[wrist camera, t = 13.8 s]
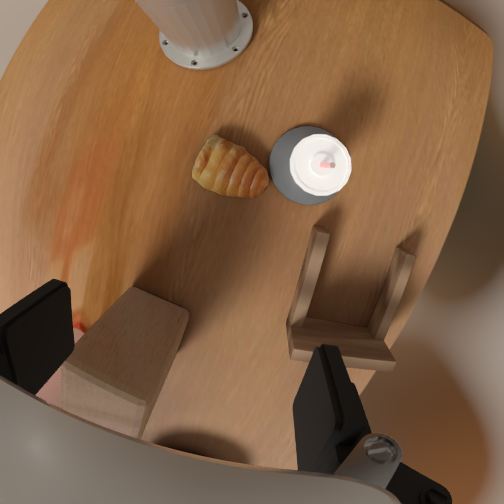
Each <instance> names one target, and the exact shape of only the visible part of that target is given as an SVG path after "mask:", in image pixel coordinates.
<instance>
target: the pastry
mask: <svg viewBox="0 0 504 504" xmlns="http://www.w3.org/2000/svg"><path fill="white" fill-rule="evenodd" d="M192 178H193V179H194V180H195V181H197V182H198V183H199V184H200V185H201V186H202V187H203V188H205V189H207V190H211V191H213V192H216V193H218V194H219V195H225V196H233V197H244V198H253V197H256V196H258V195H261V194H262V193H263V192H264V191H265V189H266V187H267V185H268V184H269V177H268V173H267V170H266V169H265V168H264V167H263V166H262V165H261V164H260V163H259V162H258V160H257V159H256V158H255V157H254V156H252V155H251V154H249V153H248V152H247V151H246V149H245V148H244V147H243V146H238V145H236V144H234V143H231V142H230V141H228V140H227V139H223V138H220V137H219V136H218V135H213V136H211V137H210V138H209V139H208V140H207V142H206V144H205V145H204V146H203V148H202V150H201V151H200V153H199V155H198V157H197V159H196V162H195V165H194V167H193V170H192Z"/></svg>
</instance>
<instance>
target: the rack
mask: <svg viewBox="0 0 504 504" xmlns="http://www.w3.org/2000/svg"><path fill="white" fill-rule="evenodd" d="M329 237H330V234H329V233H328V232H327V231H326V230H325V229H324V228H320V227H316V226H313V228H312V232H311V236H310V240H309V243H308V247H307V251H306V255H305V258H304V262H303V266H302V269H301V273H300V277H299V280H298V284H297V287H296V291H295V294H294V298H293V301H292V304H291V308H290V311H289V315H288V318H287V321H286V328H287V337H288V345H289V354H290V359H291V360H297V361H303V362H310V359H311V357H312V354H313V351H314V349H315V348H316V347H320V346H321V344H328V345H335V346H338V348H339V350H340V353H341V356H342V359H343V361H344V364H345V367H349V368H358V369H368V370H379V371H392V370H393V368H394V366H395V364H396V360H395V359H394V357H393V355H392V354H391V352H390V350H389V349H388V347H387V345H386V344H385V342H384V338H385V336H386V334H387V332H388V329H389V327H390V325H391V322H392V320H393V317H394V315H395V313H396V310H397V308H398V305H399V302H400V300H401V297H402V295H403V292H404V289H405V287H406V284H407V281H408V278H409V276H410V273H411V270H412V267H413V264H414V261H415V258H416V256H415V255H413V254H412V253H410V252H409V251H407V250H406V249H403V248H399V247H396V249H395V253H394V256H393V259H392V262H391V265H390V268H389V271H388V274H387V277H386V280H385V283H384V285H383V288H382V291H381V294H380V296H379V299H378V302H377V305H376V307H375V310H374V312H373V315H372V317H371V320H370V322H369V325H368V327H362V326H356V325H349V324H343V323H337V322H331V321H326V320H320V319H314V318H309V317H306V314H307V311H308V308H309V305H310V302H311V298H312V295H313V292H314V289H315V285H316V282H317V279H318V275H319V272H320V269H321V265H322V262H323V258H324V255H325V251H326V248H327V244H328V240H329Z"/></svg>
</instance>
